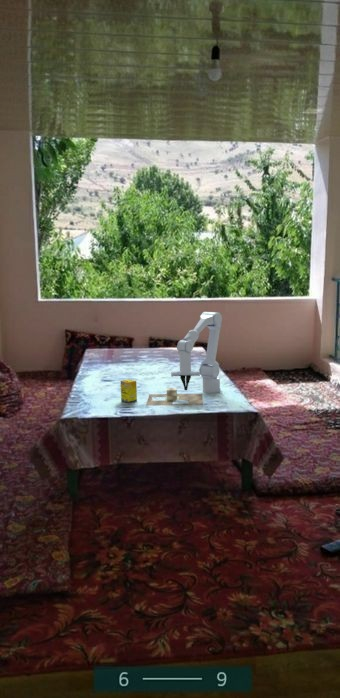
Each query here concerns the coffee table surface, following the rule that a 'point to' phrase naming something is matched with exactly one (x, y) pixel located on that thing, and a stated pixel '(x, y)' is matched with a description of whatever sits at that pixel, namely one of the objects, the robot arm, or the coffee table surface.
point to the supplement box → (128, 391)
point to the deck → (193, 399)
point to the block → (171, 393)
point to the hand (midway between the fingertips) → (185, 389)
